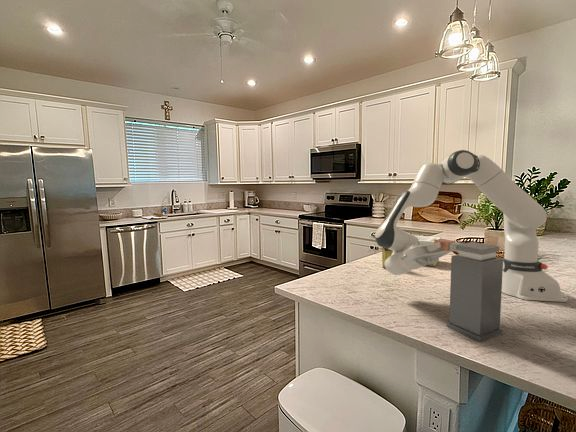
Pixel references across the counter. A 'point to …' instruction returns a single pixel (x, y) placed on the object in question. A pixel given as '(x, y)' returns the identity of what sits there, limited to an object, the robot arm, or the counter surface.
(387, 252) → the sauce bottle
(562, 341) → the counter surface
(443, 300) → the counter surface
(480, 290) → the sleeve
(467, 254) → the layered grey-topped block
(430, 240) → the storage basket
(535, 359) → the counter surface
